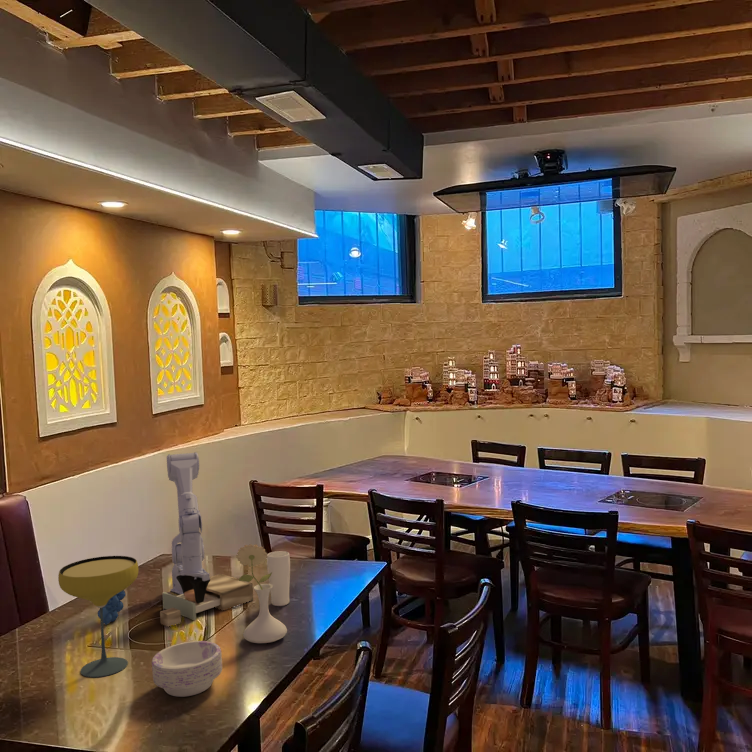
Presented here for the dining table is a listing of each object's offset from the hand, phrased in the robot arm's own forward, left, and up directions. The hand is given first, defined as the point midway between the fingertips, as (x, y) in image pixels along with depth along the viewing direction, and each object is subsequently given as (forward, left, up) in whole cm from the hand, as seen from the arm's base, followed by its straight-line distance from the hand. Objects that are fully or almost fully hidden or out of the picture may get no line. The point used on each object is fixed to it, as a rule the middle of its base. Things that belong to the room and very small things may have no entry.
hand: (194, 600), depth 215 cm
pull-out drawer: (0, 0, -2) cm, 2 cm away
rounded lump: (0, 0, +1) cm, 1 cm away
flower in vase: (+35, -2, -3) cm, 35 cm away
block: (+5, -11, -3) cm, 12 cm away
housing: (0, +10, -3) cm, 10 cm away
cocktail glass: (+18, -37, -3) cm, 41 cm away
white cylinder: (+18, +18, -3) cm, 25 cm away
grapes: (-11, -21, -3) cm, 24 cm away
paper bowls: (+44, -30, -3) cm, 53 cm away
